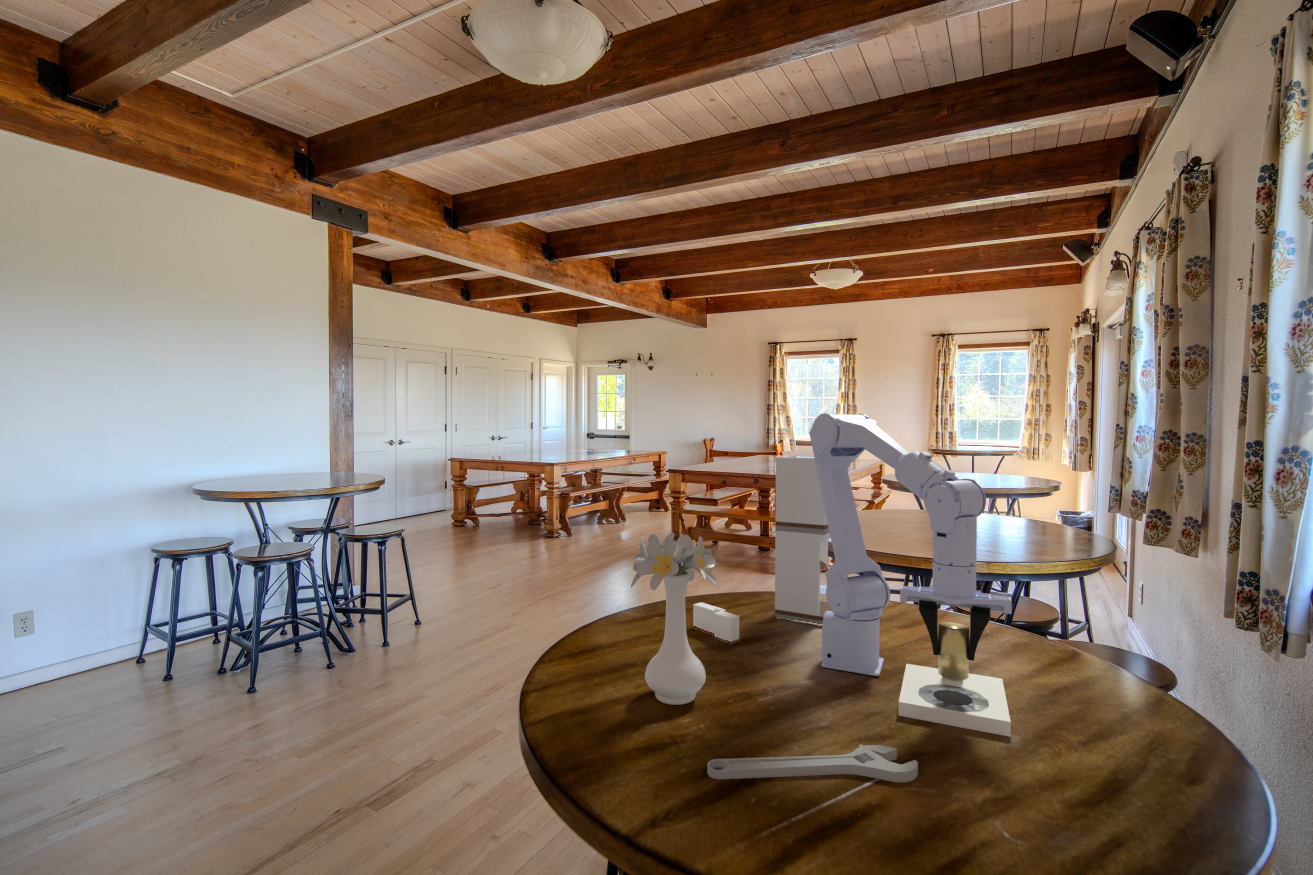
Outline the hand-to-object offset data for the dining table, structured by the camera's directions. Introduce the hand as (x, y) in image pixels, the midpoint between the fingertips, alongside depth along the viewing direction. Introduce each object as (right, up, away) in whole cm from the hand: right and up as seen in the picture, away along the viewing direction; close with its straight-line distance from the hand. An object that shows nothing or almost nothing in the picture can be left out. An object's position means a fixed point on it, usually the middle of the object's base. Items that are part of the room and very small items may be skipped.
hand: (953, 655), depth 90 cm
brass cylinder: (0, -3, 0) cm, 3 cm away
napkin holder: (-32, -8, +33) cm, 47 cm away
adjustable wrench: (-24, -9, -15) cm, 30 cm away
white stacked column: (-10, -8, +46) cm, 48 cm away
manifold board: (+1, -8, +3) cm, 9 cm away
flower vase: (-41, -8, +5) cm, 42 cm away
